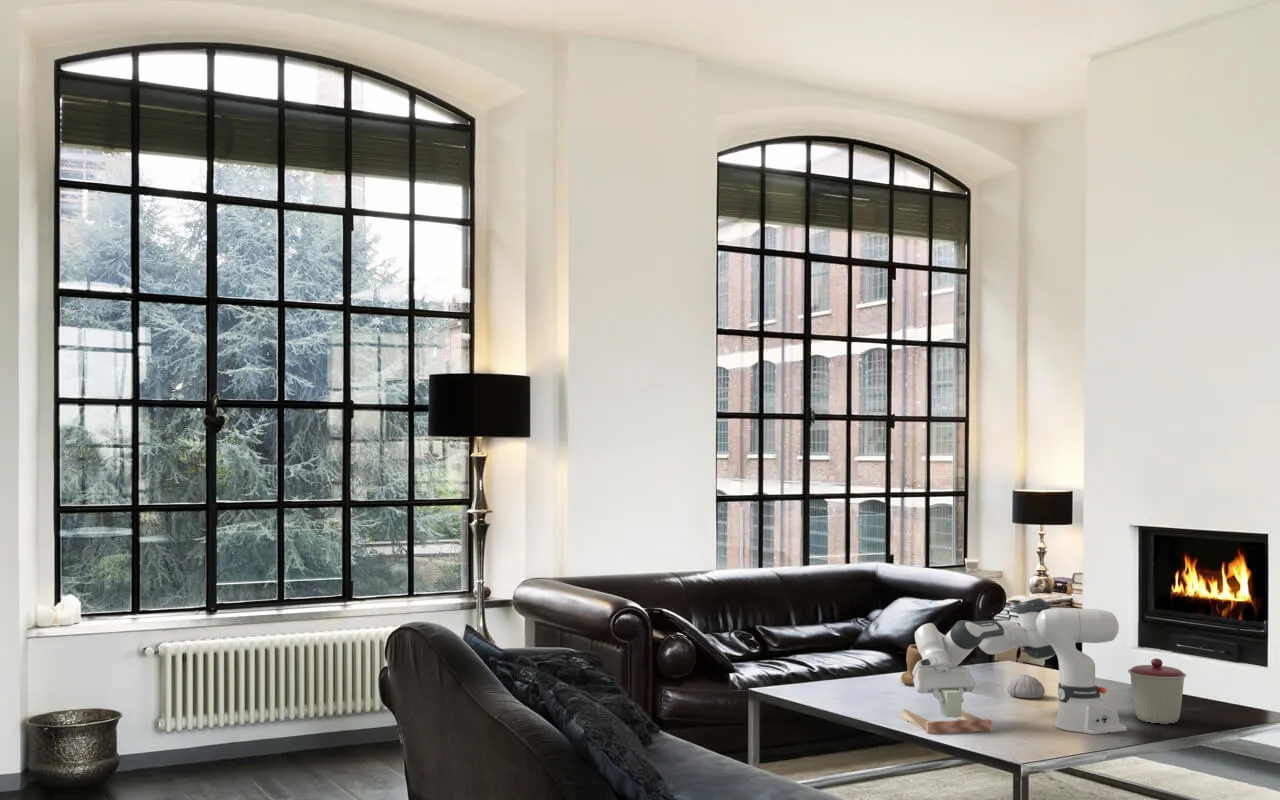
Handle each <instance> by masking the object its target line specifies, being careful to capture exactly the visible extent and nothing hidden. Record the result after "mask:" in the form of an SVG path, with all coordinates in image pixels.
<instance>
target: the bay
mask: <svg viewBox="0 0 1280 800" xmlns="http://www.w3.org/2000/svg"><path fill="white" fill-rule="evenodd" d="M902 718H903V719H902ZM956 718H957V719H956ZM901 719H902V720H904V719H905V720H904V721H906V720H907V721H906V722H908V721H909V722H908V723H910V722H911V723H910V724H912V723H913V724H912V725H914V726H916V727H917V726H918V728H919V727H920V729H922V731H925V733H926V734H929V735H930V734H931V735H932V734H954V733H953V732H958V733H976V732H975V731H985V732H992V720H991V719H988V718H986V719H982V718H980V717H978V716H976V715H974V714H972V713H969V712H967V711H965V710H962V717H955V718H954V719H956V720H935V721H933V720H932V721H930V720H928V719H926V718H924V717H923V716H920V715H918V714H917V713H914V712H912V711H910V710H908V709H906V708H905V709H901ZM950 732H952V733H950Z"/></svg>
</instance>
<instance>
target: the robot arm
mask: <svg viewBox="0 0 1280 800" xmlns="http://www.w3.org/2000/svg"><path fill="white" fill-rule="evenodd" d="M1016 614H1017V616H1018V623H1019V624H1018V623H1017V621H1013V620H1009V619H1008V620H1006V619H1004V620H992V619H991V620H980V621H971V620H963V619H962V620H958V621H956V622H955V624H954V625H953V626H952V628H951V629H950V630H949V631H948V632H947V633H946V634H943V633H942V632H940V631H939V630H938V628H937V626H936V625H935V624H934V623H933V622H927V623H924V624H922V625H920V626H919V627H918V628H917V629H916V630H915V631H914V642H915V644H916V645H917V648H918V651H919V653H920V655H921V656H922V660H920V661H918V662H917V664H916V665H915V667H914V669H913V672H912V674H913V676H914V679H913V681H914V685H913V686H914V689H915V690H916V692H917V693H918V694H932V696H933V697H934V698H936V699H937V701H938V703H939V705H940V704H943V703H944V702H945V699H944V696H941V695H940V690H941V689H955V690H958V691H960V692H961V694H962V704H963V703H964V701H965V700H964V697H963V695H964V693H971V692H973V691H974V689H975V687H976V686H977V685H976V681H975V680H974V678H973V676H972V674H971V671H970V669H969V668H967V667H965V666H964V665H959V664H961V663H962V662H963V661H964V660H965V659H966V658H967V656H969V655H970V654H971V652H973V650H975V648H977V647H978V648H979V649H980V650H981V651H982V652H984V653H985V654H986V655H987V654H988V655H998V654H1002V653H1005V652H1008V651H1011V650H1012V649H1015V648H1018V647H1021V648H1023V649H1022V650H1020V651H1021V652H1022V653H1025V654H1027V656H1028V657H1030V658H1032V659H1035V660H1040V661H1041V660H1042V661H1045V660H1049V659H1050V658H1052V657H1054V656H1057V661H1058V669H1059V683H1057V684H1058V688H1057V689H1058V690H1057V695H1058V709H1057V714H1056V718H1055V719H1056V720H1055V723H1054V726H1055V727H1056V728H1057V729H1061V730H1065V731H1069V732H1076V733H1077V732H1078V733H1084V734H1088V735H1089V734H1090V735H1098V734H1107V733H1108V732H1110V733H1116V732H1117V733H1118V731H1119V732H1125V731H1126V732H1127V731H1128V728H1127V727H1128V726H1126V725H1124V724H1122V723H1120V718H1119V717H1120V716H1119V713H1118V711H1117V709H1116V708H1115V707H1113V706H1112V705H1111V704H1110V703H1109V702H1107V701H1106V700H1105V699H1104V698H1102V697H1101V694H1103V695H1105V694H1106V693H1107V692H1108V690H1107V688H1106V687H1104V686H1100V687H1099V686H1098V685H1096V663H1095V661H1094V659H1093V658H1092V657H1090V656H1089V655H1087V654H1085V652H1082V651H1080V650H1078V649H1077V647H1076V643H1081V644H1082V643H1086V644H1087V643H1088V644H1101V643H1108V642H1112V641H1114V640H1115V639H1116V637H1117V635H1118V634H1119V627H1120V626H1119V621H1118V619H1117V617H1116V615H1114V613H1112V612H1111V611H1107V610H1102V609H1098V608H1075V607H1074V608H1073V607H1053V605H1052V604H1049V603H1048V602H1047V601H1046V600H1044V599H1043V598H1040V597H1036V596H1031V597H1030V596H1029V597H1026V598H1024V599H1021V601H1019V602H1018V603H1017V604H1016ZM958 665H959V666H958Z"/></svg>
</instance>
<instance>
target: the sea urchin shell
mask: <svg viewBox="0 0 1280 800" xmlns="http://www.w3.org/2000/svg"><path fill="white" fill-rule="evenodd" d="M1006 689H1007V693H1008V694H1009V695H1010V696H1012V697H1016V698H1021V699H1035V700H1036V699H1041V698H1042V697H1043V696H1044V695H1045V694H1046V693H1045V692H1046V691H1045V687H1044V686H1043V684H1042V683H1041V682H1040V681H1039V680H1038V679H1037V678H1036V677H1035V676H1031V675H1029V674H1019V675H1016V676H1015V677H1013V678H1012V679H1011V680H1010V681H1009V683H1008V685H1007V688H1006Z"/></svg>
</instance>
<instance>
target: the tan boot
mask: <svg viewBox="0 0 1280 800" xmlns="http://www.w3.org/2000/svg"><path fill="white" fill-rule="evenodd" d="M920 660H922V656H921V655H920V653H919V651H918V648H917V645H916V643H915V644H909V646H908V647H907V650H906V659H905V661H906V667H907V671H904V672H903V673H902V674H901V676H900V681H901V683H903V684H907V685H911V686H912V685H913V686H915V685H914V681H913V679H914V676H913V674H912V672H913V669H914V667H915V665H916V664H917V662H918V661H920Z"/></svg>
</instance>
